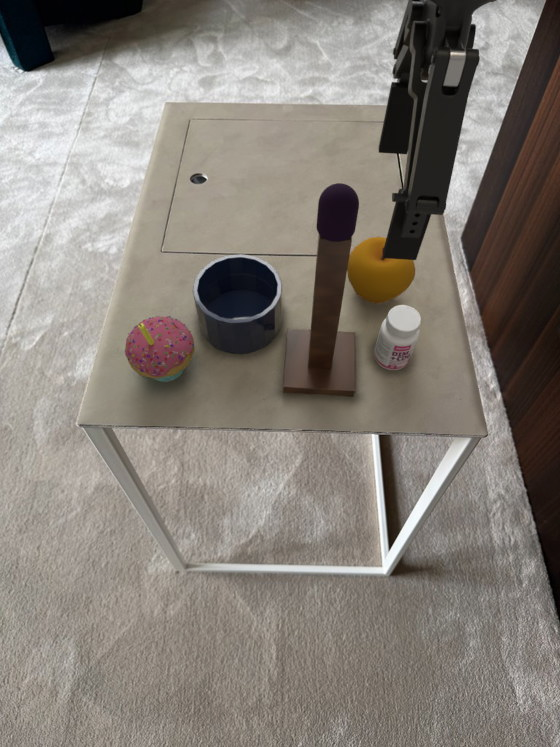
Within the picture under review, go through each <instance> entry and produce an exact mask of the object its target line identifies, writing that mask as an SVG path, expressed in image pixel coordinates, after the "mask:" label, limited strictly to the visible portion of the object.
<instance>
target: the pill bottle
mask: <svg viewBox="0 0 560 747" xmlns="http://www.w3.org/2000/svg"><path fill="white" fill-rule="evenodd" d="M421 324H422V316H421V315H420V312H419V311H418V310H417V309H416V308H414V307H413V306H410V305H408V304H407V305H406V304H398V305H395V306H393V307H392V308H391V309H389V311H388V313H387V315H386V317H385V319H383V321H382V323H381V325H380V329H379V333H378V335H377V339H376V343H375V347H374V351H373V356H374V357H373V358H374V359H375V362H376V363H377V365H379V366H380V367H381V368H383V369H385V370H388V371H399V370H401V369H403V368H405V367H406V366H407V365H408V364H409V362H410V360H411V358H412V354H413V353H414V349H415V347H416V345H417V342H418V340H419V337H420V326H421Z"/></svg>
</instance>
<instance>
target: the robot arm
mask: <svg viewBox="0 0 560 747" xmlns="http://www.w3.org/2000/svg"><path fill="white" fill-rule="evenodd" d="M497 1H498V0H408V1H407V4H406V8H405V11H404V15H403V18H402V21H401V25H400V28H399V32H398V34H397V38H396V41H395V45H394V47H393V48H392V55H393V60H395V63H394V64H393V67H392V78H393V79H394V80H396V81H391V84H390V88H389V93H388V98H387V103H386V109H385V113H384V117H383V118H384V119H383V124H382V128H381V134H380V138H379V143H378V153H379V154H394V155H406V164H405V172H404V179H403V187H402V188H398V192H392V193H391V202H393V203H395V205H394V207H393V211H392V215H391V219H390V223H389V227H388V231H387V234H386V237H385V238H386V242H385V246H384V250H383V258H389V259H405V260H413V261H417V258H418V256H419V253H420V250H421V246H422V244H423V241H424V238H425V234H426V232H427V230H428V229H427V228H428V226H429V223H430V220H431V216H432V215H435V216H436V215H437V216H443V215H444V213H445V210H446V208H447V200H448V195H449V190H450V186H451V181H452V177H453V172H454V167H455V163H456V158H457V152H458V147H459V142H460V137H461V133H462V128H463V123H464V119H465V114H466V109H467V104H468V100H469V94H470V92H471V88H472V84H473V81H474V78H475V75H476V71H477V68H478V67H479V64H480V61H481V60H480V49H479V48H474V44H475V40H476V39H475V38H476V30H477V26H476V23H472V21H473V15H474V13H475V11H477V10H478V9H479V8H481V7H483V6H485V5H487V4H489V3H494V2H497Z"/></svg>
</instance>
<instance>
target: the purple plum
mask: <svg viewBox="0 0 560 747" xmlns="http://www.w3.org/2000/svg"><path fill="white" fill-rule="evenodd" d="M359 209H360V200H359V196H358V193H357V191H356V190H355V189H354V188H353V187H352V186H350V185H348V184H346V183H342V182H337V183H333V184H330V185H328V186H327V187H325V189H324V190H323V191H322V192H321V194H320V196H319V198H318V204H317V216H316V232H317V233H318V236H319V235H320V236H321V237H323V238H324V239H326V240H328V241H332V242H341V241H345V240H348V239H349V238H351V237H352V238H353V235H354V234H355V232H356V227H357V221H358V214H359Z"/></svg>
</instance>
